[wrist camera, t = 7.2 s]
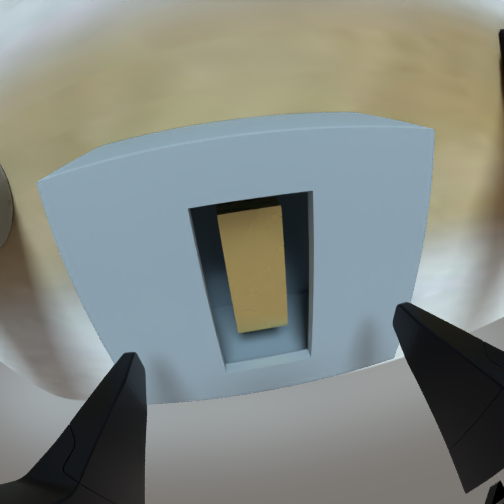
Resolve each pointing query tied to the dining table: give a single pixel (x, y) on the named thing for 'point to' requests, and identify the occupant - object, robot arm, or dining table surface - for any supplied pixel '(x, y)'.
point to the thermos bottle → (5, 208)
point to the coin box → (211, 252)
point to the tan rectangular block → (254, 261)
